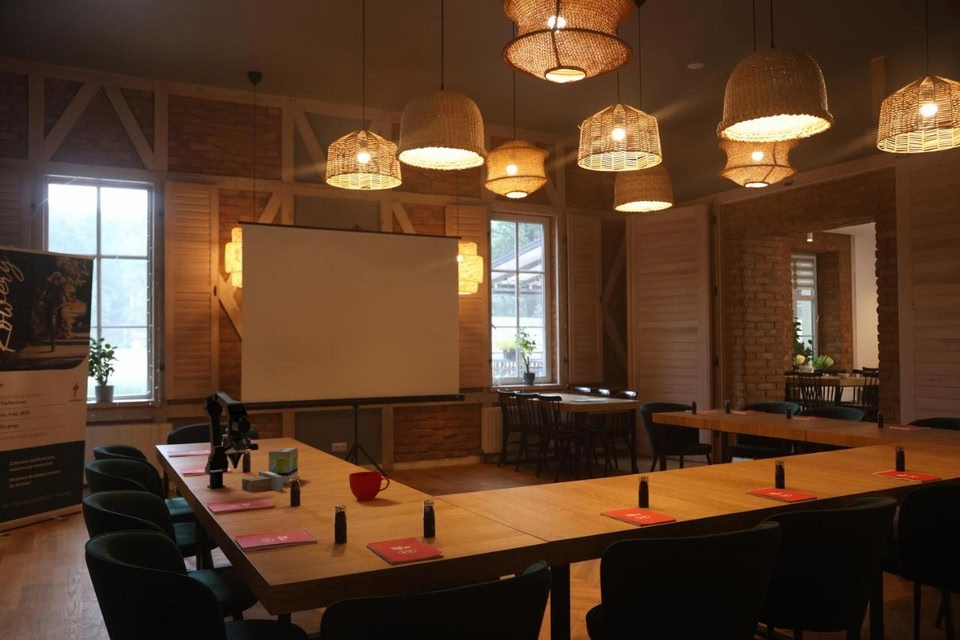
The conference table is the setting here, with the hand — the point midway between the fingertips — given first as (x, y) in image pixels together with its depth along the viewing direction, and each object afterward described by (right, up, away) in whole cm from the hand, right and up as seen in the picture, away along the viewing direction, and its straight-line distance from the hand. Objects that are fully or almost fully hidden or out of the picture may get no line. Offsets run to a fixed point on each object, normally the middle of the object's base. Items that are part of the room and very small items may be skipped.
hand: (235, 468), depth 324 cm
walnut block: (+6, -11, +9) cm, 15 cm away
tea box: (+13, -12, +29) cm, 34 cm away
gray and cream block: (+12, -11, +12) cm, 20 cm away
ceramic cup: (+61, -8, -21) cm, 65 cm away
